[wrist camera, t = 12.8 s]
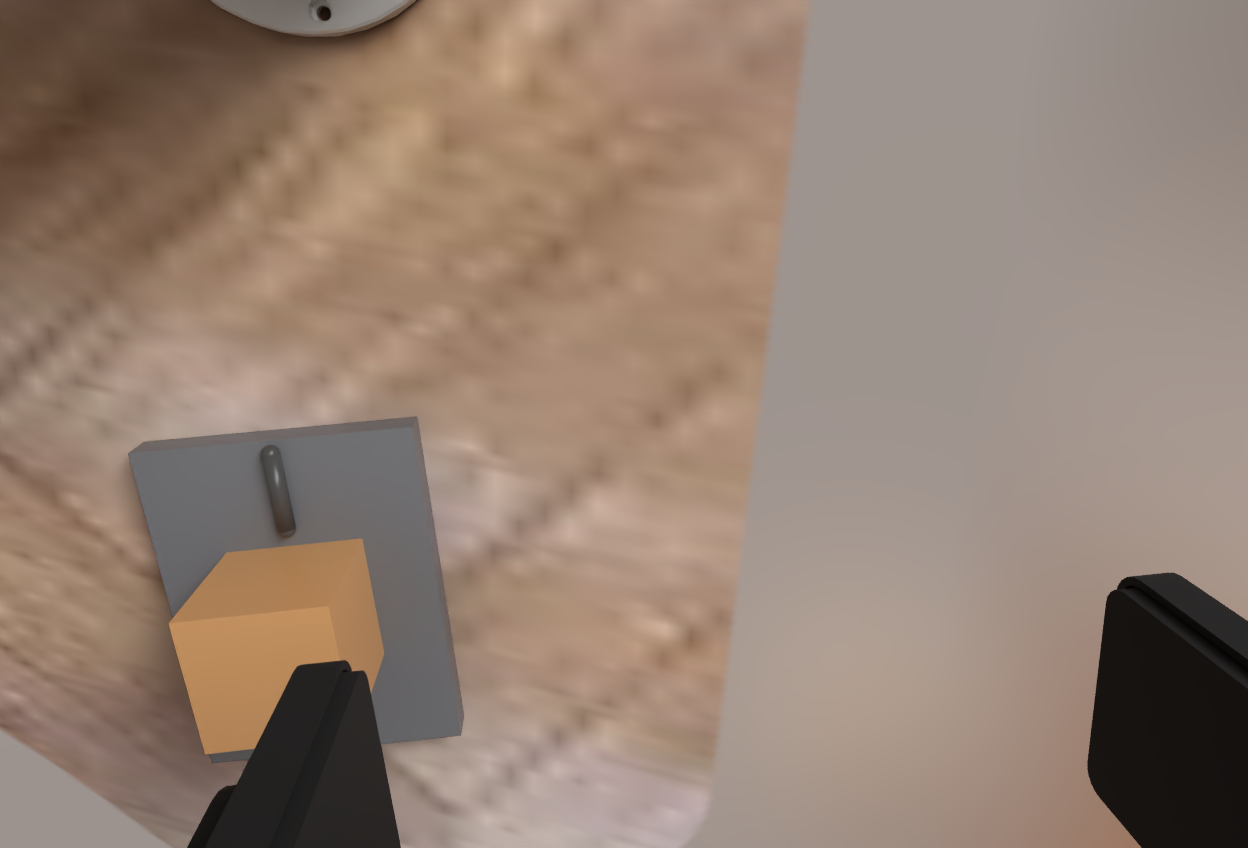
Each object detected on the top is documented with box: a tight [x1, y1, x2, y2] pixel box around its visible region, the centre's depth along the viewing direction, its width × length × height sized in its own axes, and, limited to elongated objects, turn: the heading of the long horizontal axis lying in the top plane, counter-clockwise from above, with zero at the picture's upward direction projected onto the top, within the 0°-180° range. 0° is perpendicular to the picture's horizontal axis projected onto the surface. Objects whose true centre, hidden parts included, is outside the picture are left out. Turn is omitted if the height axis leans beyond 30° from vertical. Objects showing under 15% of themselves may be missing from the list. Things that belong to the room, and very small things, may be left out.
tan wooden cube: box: [168, 538, 384, 754], centre depth 36 cm, size 6×6×6 cm
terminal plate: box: [128, 417, 464, 763], centre depth 38 cm, size 16×12×6 cm
